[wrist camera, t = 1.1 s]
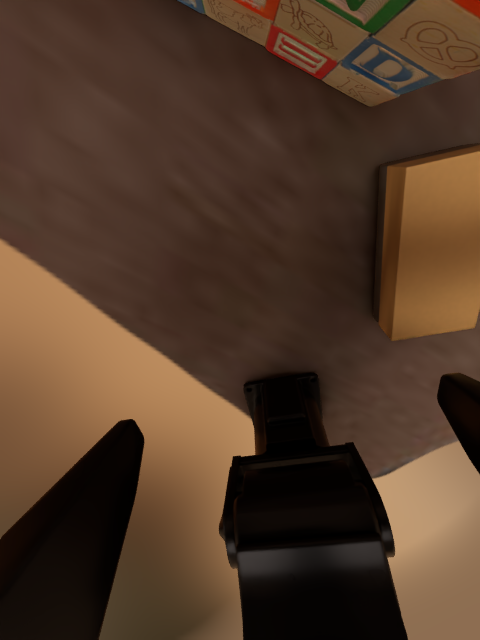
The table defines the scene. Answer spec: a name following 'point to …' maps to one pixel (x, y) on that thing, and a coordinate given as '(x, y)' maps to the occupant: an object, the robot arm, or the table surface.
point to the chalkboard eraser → (428, 243)
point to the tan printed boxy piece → (361, 39)
